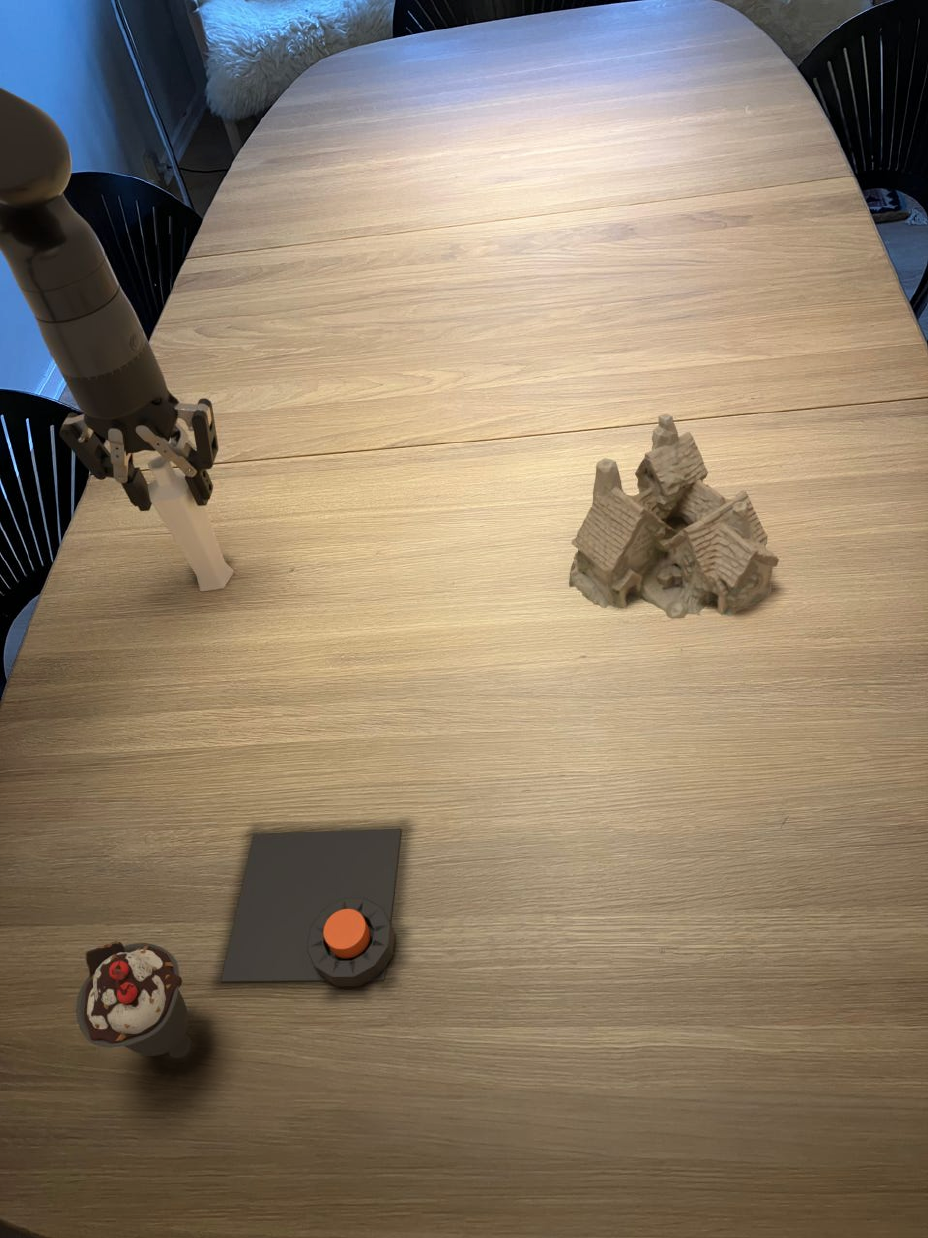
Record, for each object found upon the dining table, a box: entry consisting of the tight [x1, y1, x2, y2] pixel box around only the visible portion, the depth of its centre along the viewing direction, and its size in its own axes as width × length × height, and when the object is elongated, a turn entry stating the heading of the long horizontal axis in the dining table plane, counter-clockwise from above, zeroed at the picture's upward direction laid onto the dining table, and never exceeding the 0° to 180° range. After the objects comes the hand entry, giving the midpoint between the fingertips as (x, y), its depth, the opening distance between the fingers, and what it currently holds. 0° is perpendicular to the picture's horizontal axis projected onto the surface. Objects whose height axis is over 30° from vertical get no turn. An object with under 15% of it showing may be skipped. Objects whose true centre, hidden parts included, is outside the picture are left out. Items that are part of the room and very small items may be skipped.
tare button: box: [323, 909, 370, 959], centre depth 72 cm, size 3×3×2 cm
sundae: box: [75, 940, 192, 1059], centre depth 66 cm, size 7×7×15 cm
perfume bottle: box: [147, 455, 235, 592], centre depth 99 cm, size 5×4×15 cm
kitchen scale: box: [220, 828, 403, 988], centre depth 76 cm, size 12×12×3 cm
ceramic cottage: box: [568, 413, 780, 620], centre depth 89 cm, size 16×16×15 cm
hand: (175, 502), depth 97 cm, fingers open, 5 cm apart
